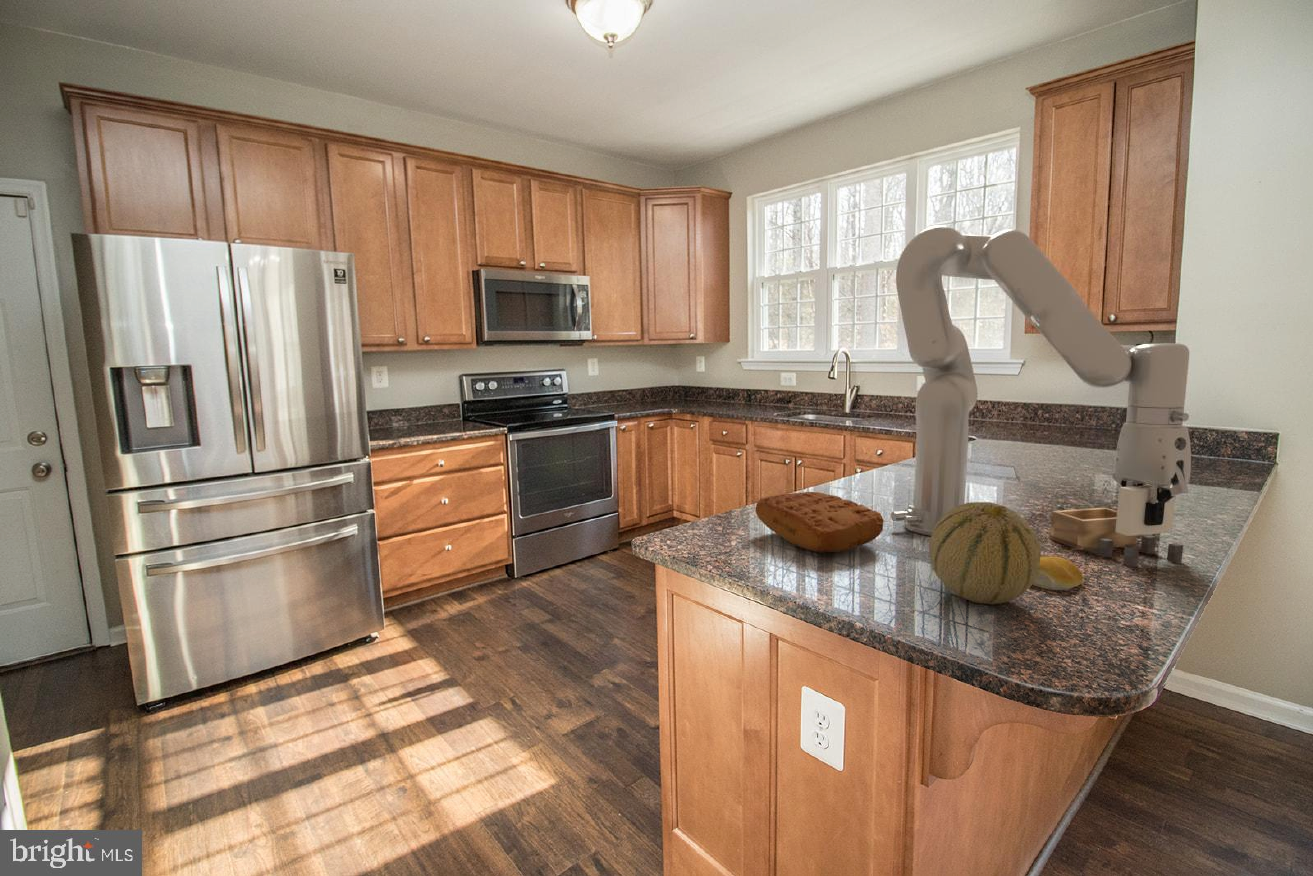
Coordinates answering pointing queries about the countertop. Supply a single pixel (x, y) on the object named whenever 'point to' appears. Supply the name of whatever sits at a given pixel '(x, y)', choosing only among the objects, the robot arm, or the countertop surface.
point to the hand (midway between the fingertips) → (1144, 521)
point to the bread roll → (1057, 574)
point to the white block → (1140, 512)
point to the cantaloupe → (984, 552)
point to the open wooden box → (1103, 535)
